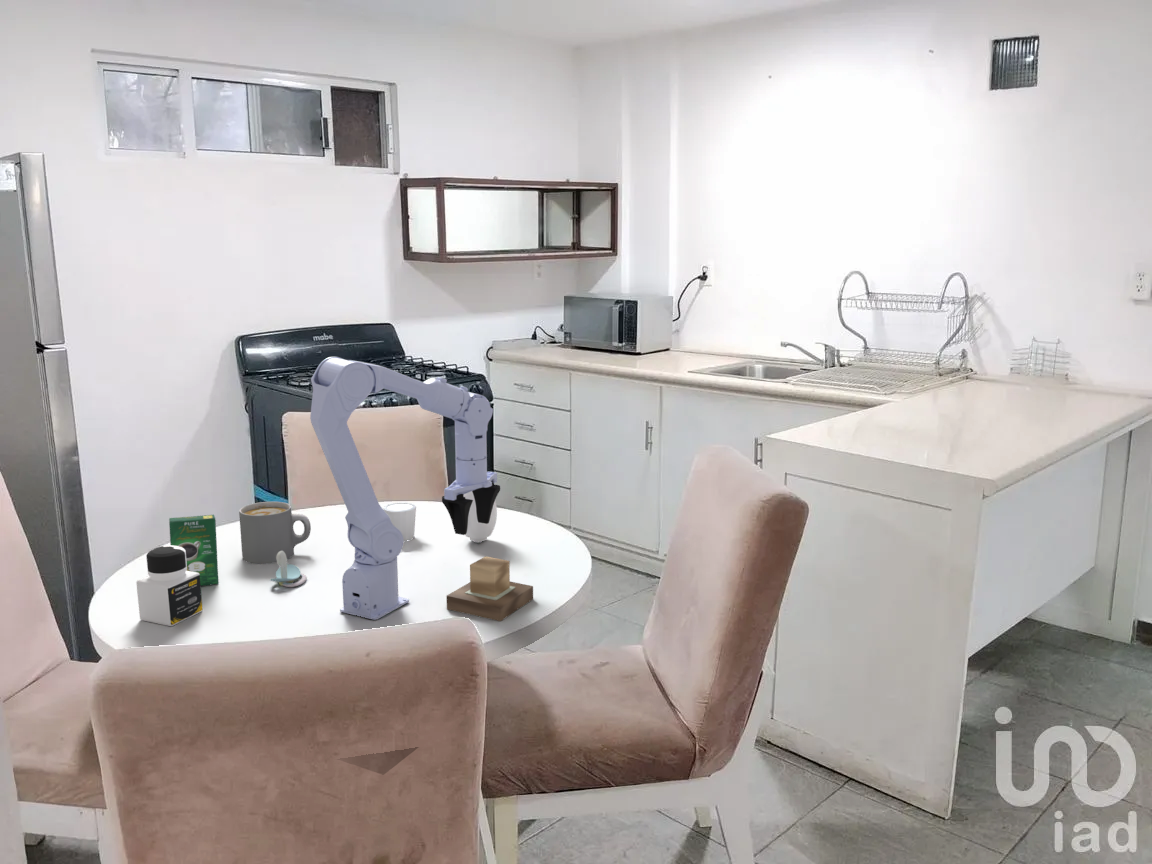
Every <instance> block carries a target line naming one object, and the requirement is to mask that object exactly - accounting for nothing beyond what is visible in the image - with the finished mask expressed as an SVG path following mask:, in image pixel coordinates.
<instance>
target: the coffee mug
mask: <svg viewBox="0 0 1152 864" xmlns="http://www.w3.org/2000/svg"><path fill="white" fill-rule="evenodd" d="M238 515H239V529H240V543H241V556H242V561H243V562H245V563H248V564H254V565H267V564H268V565H270V564H274V563H277V561H276V556H277V554H278V552H280V551H284V553H285V555H286V557H287V560H288V559H291V558H292V557H293V556H294V555H295V554H294V553H295V551H294V550H295V547H296V546H297V545H299V544H301V543H303V542H306V541H307V540H308V538H310V535H311V530H312V529H311V522H310V521H311V520H310V519H309V517H308V516H307V515H305V514H303V513H293V512H292V505H291V504H289V503H287V502H285V501H284V502H282V501H263V502H261V501H260V502H256V503H251V504H250V503H249V504H247V505H244V506H242V507H241V508H239V512H238ZM298 521H299V522H301V523H302V524H303V527H304V529H303V533H301V534H300V535H299V534H297V533H296V532H295V529H294V524H295V523H296V522H298Z"/></svg>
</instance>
